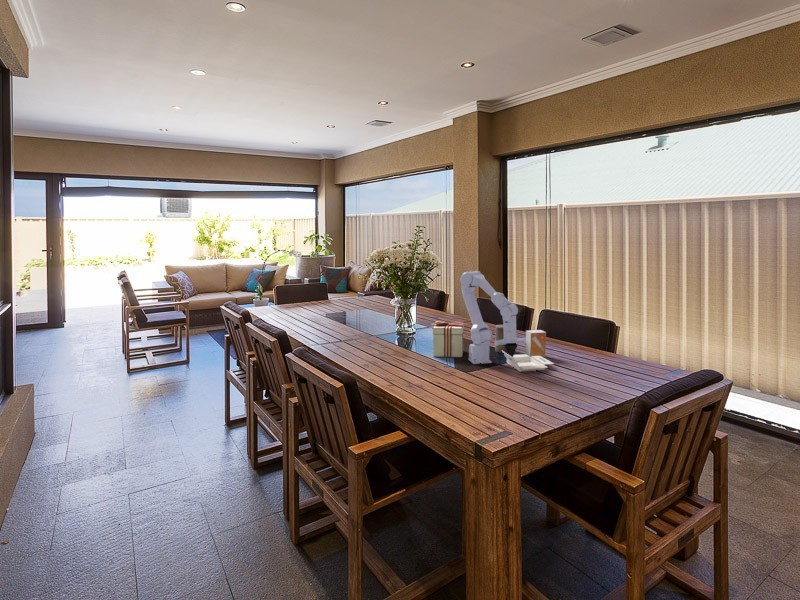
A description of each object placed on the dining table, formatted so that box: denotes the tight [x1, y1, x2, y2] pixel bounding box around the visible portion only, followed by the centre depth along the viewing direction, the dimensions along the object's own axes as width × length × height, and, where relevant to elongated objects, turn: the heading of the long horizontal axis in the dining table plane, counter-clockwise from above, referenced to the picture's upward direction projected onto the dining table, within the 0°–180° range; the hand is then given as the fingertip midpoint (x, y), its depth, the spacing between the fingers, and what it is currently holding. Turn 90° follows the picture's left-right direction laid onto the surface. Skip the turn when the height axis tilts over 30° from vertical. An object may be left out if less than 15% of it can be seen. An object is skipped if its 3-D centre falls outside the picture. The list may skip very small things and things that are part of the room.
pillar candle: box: [494, 324, 508, 354], centre depth 246 cm, size 10×10×15 cm
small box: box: [524, 329, 547, 358], centre depth 235 cm, size 8×6×13 cm
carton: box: [506, 353, 549, 373], centre depth 219 cm, size 12×23×2 cm, turn 9°
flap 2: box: [531, 356, 555, 366], centre depth 220 cm, size 4×14×1 cm, turn 9°
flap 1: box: [502, 351, 519, 366], centre depth 218 cm, size 4×14×1 cm
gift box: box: [430, 320, 465, 358], centre depth 244 cm, size 17×18×17 cm
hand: (510, 359), depth 217 cm, fingers closed, pressing on flap 1
